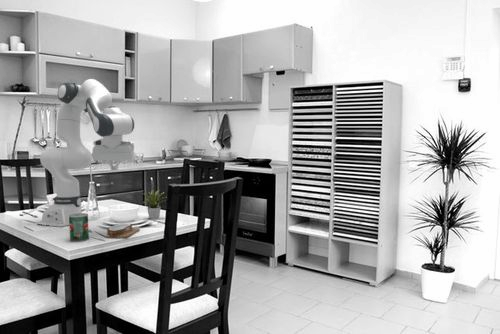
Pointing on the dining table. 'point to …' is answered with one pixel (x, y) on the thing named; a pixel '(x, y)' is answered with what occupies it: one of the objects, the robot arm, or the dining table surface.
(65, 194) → the robot arm
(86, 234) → the canned tomato
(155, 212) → the house plant
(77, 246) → the dining table surface
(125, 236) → the walnut board
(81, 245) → the dining table surface
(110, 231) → the brown rounded block
